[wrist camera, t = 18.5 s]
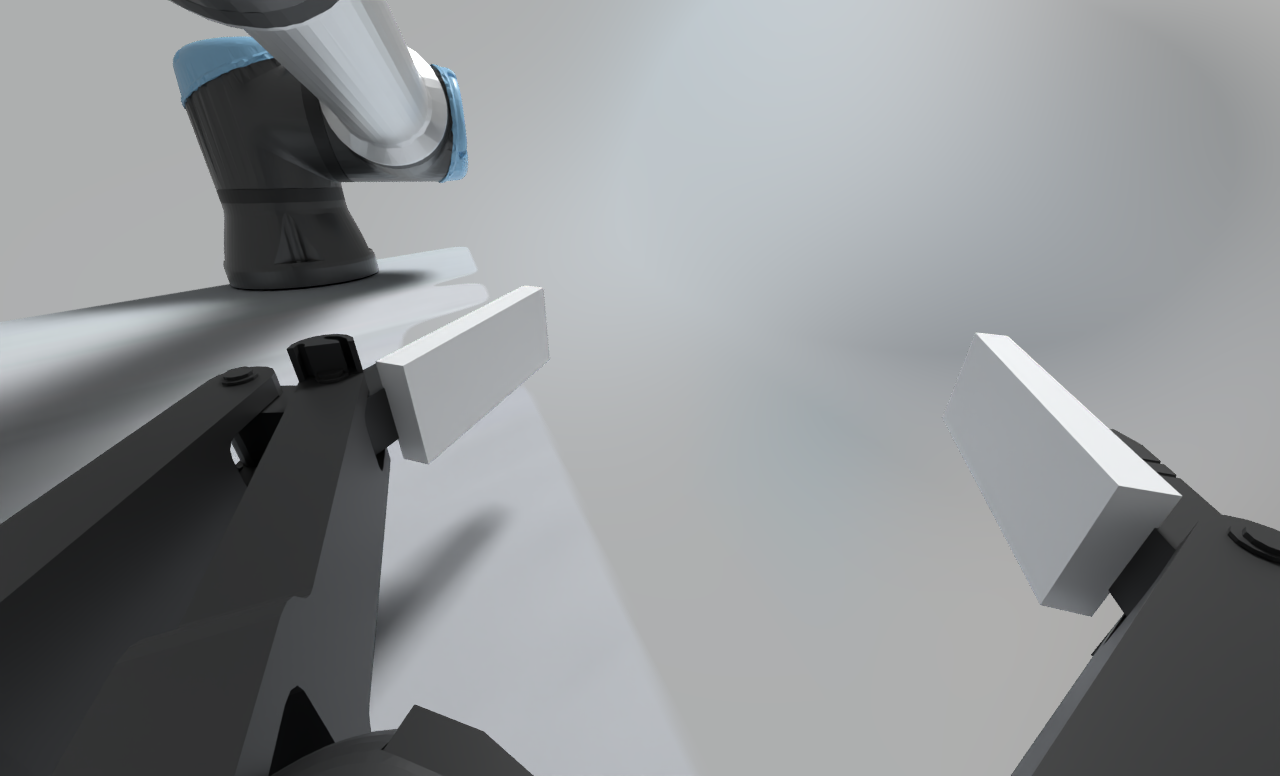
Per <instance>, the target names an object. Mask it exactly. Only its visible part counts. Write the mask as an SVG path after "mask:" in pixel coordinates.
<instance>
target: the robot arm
mask: <svg viewBox="0 0 1280 776" xmlns="http://www.w3.org/2000/svg"><path fill="white" fill-rule="evenodd" d="M169 1H171V2H173V3H175V4H177V5H179V6H181V7H183V8H185V9H187V10H188V11H191V12H193V13H195V14H197V15H199V16H201V17H203V18H205V19H207V20H211V21H214V22H217V23H220V24H223V25H226V26H230V27H235V28H240V29H244V30H245V31H246V32H247V33H248V34H249V35H250V36H251V37H221V38H212V39H206V40H200V41H196V42H193V43H190V44H187V45H185V46H184V47H182V48H181V49H180V50H178V51H177V53H176V54H175V56H174V59H173V67H174V71H175V75H176V78H177V82H178V85H179V89H180V93H181V96H182V97H181V102H182V105H183V107H184V108H185V109H186V111H187V113H188V116H189V118H190V121H191V123H192V126H193V129H194V132H195V134H196V137H197V140H198V143H199V145H200V148H201V150H202V153H203V156H204V158H205V161H206V164H207V166H208V169H209V172H210V174H211V177H212V179H213V182H214V185H215V188H216V189H218V190H217V193H218V196H219V199H220V201H221V204H222V207H223V210H224V217H225V218H224V219H225V220H224V253H225V261H224V269H225V272H226V274H227V277H228V280H229V282H230V285H231V286H233V287H236V288H243V289H282V288H297V287H308V286H317V285H325V284H332V283H338V282H344V281H350V280H354V279H359V278H363V277H366V276H370V275H372V274H375V273H377V272H378V271H379V269H378V265H377V261H376V257H375V254H374V252H373V251H372V249H370V248H368V246H367V244H366V242H365V240H364V238H363V236H362V234H361V232H360V230H359V228H358V226H357V225H356V223H355V221H354V219H353V218H352V216H351V214H350V212H349V211H348V208H347V205H346V202H345V198H344V195H343V191H342V186H341V182H377V181H378V182H380V181H381V182H390V181H392V182H393V181H394V182H395V181H396V182H397V181H438V182H439V183H443V182H446V181H451V180H460V179H462V178H463V177H465V175H466V173H467V169H468V155H467V150H466V149H467V139H466V130H465V121H464V114H463V107H462V101H461V94H460V89H459V85H458V83H457V78H456V75H455V74H454V73H453V72H452V70H450V69H448V68H444V67H439V66H438V65H434V64H431V65H428V64H427V63H426V62H425V61H424V60H423V59H422V58H421V57H420V56H419V55H418V54H417V53H416V52H414V51H413V50H412V49H410V48H408V47H407V45H406V43H405V40H404V38H403V36H402V34H401V32H400V29H399V27H398V25H397V23H396V20H395V18H394V16H393V14H392V11H391V9H390V7H389V5H388V2H387V0H169ZM545 313H546V312H545V301H544V290H543V288H542V287H533V286H522V287H520V288H518V289H516V290H514V291H512V292H510V293H508V294H506V295H504V296H502V297H500V298H498V299H496V300H494V301H492V302H490V303H488V304H487V305H485V306H483V307H481V308H479V309H477V310H475V311H473V312H471V313H469V314H467V315H465V316H463V317H461V318H459V319H457V320H456V321H454V322H451V323H449V324H447V325H445V326H444V327H442V328H440V329H438V330H436V331H434V332H432V333H430V334H428V335H426V336H424V337H422V338H420V339H418V340H416V341H414V342H412V343H410V344H408V345H407V346H404V347H402V348H401V349H399V350H397V351H395V352H393V353H391V354H389V355H387V356H385V357H383V358H381V359H379V360H377V361H376V364H374V365H372V366H370V367H368V368H366V369H364V370H363V369H362V366H361V362H360V359H359V356H358V353H357V350H356V346H355V343H354V340H353V337H351V336H348V335H342V334H330V335H321V336H315V337H311V338H307V339H304V340H301V341H298V342H296V343H294V344H292V345H291V346H289V347H288V348H287V351H288V354H289V357H290V359H291V362H292V364H293V367H294V370H295V372H296V375H297V377H298V380H299V383H298V385H297V386H280V384H279V381H278V379H277V376H276V374H275V372H274V370H273V369H272V368H269V367H239V368H235V369H231V370H228V371H227V372H225V373H224V374H221V375H218V376H216V377H214V378H212V379H210V380H209V381H207V382H206V383H204V384H203V385H201V386H200V387H198V388H197V389H196V390H194V391H193V392H191V393H190V394H188V395H187V396H185V397H184V398H183V399H181V400H180V401H178V402H177V403H175V404H174V405H172V406H171V407H170V408H168V409H167V410H165V411H164V412H162V413H161V414H159V415H158V416H157V417H155V418H154V419H152V420H151V421H149V422H148V423H146V424H145V425H143V426H142V427H141V428H139V429H138V430H136V431H135V432H133V433H132V434H130V435H129V436H128V437H126V438H125V439H123V440H122V441H120V442H119V443H117V444H116V445H115V446H113V447H112V448H110V449H109V450H107V451H106V452H104V453H103V454H102V455H100V456H99V457H97V458H96V459H94V460H93V461H91V462H90V463H89V464H87V465H86V466H84V467H83V468H81V469H80V470H78V471H77V472H76V473H74V474H73V475H71V476H70V477H68V478H67V479H65V480H64V481H63V482H61V483H60V484H58V485H57V486H55V487H54V488H52V489H51V490H50V491H48V492H47V493H45V494H44V495H42V496H41V497H39V498H38V499H37V500H35V501H34V502H32V503H31V504H29V505H28V506H26V507H25V508H24V509H22V510H21V511H19V512H18V513H16V514H15V515H13V516H12V517H10V518H9V519H8V520H6V521H5V522H3V523H2V524H0V776H533V775H532V774H531V773H530V772H529V771H527V770H526V769H525V768H524V767H523V766H522V765H521V764H520V763H518V762H517V761H516V760H515V759H514V758H513V757H512V756H511V755H509V754H508V753H507V752H506V751H505V750H504V749H503V748H502V747H500V746H499V745H498V744H497V743H496V742H495V741H494V740H493V739H491V738H490V737H489V736H488V735H487V734H486V733H485V732H483V731H481V730H478V729H476V728H473V727H471V726H468V725H466V724H463V723H461V722H458V721H456V720H453V719H450V718H448V717H445V716H443V715H440V714H438V713H435V712H433V711H430V710H428V709H425V708H422V707H420V706H417V705H414V706H413V707H412V709H411V710H410V712H409V713H408V715H407V716H406V718H405V719H404V721H403V722H402V724H401V725H400V726H399V728H398V729H393V730H384V731H375V732H371V728H370V719H369V702H370V690H371V679H372V667H373V656H374V644H375V633H376V621H377V610H378V598H379V587H380V575H381V564H382V552H383V541H384V529H385V518H386V506H387V495H388V483H389V472H390V457H389V453H388V450H387V447H388V446H389V445H391V444H392V443H393V442H395V441H396V440H397V439H398V440H399V444H400V447H401V451H402V454H403V458H404V459H408V460H412V461H416V462H421V463H425V464H430V463H431V462H432V461H433V460H434V459H435V458H437V457H438V456H439V455H440V454H441V453H442V452H444V451H445V450H446V449H447V448H448V447H449V446H451V445H452V444H453V443H454V442H455V441H456V440H457V439H459V438H460V437H461V436H462V435H463V434H464V433H466V432H467V431H468V430H469V429H470V428H471V427H473V426H474V425H475V424H476V423H477V422H478V421H479V420H481V419H482V418H483V417H484V416H485V415H486V414H488V413H489V412H490V411H491V410H492V409H493V408H495V407H496V406H497V405H498V404H499V403H500V402H501V401H503V400H504V399H505V398H506V397H507V396H508V395H510V394H511V393H512V392H513V391H514V390H515V389H517V388H518V387H519V386H520V385H521V384H522V383H523V382H525V381H526V380H527V379H528V378H529V377H530V376H531V375H533V374H534V373H535V372H536V371H537V370H539V369H540V368H541V367H542V366H543V365H544V364H545V363H547V362H548V361H549V360H550V357H549V347H548V335H547V323H546V314H545ZM942 418H943V420H944V422H945V424H946V426H947V428H948V430H949V431H950V434H951V436H952V437H953V439H954V441H955V443H956V445H957V447H958V449H959V451H960V453H961V455H962V457H963V458H964V460H965V462H966V464H967V466H968V468H969V470H970V472H971V474H972V476H973V478H974V479H975V481H976V483H977V485H978V487H979V489H980V491H981V493H982V495H983V496H984V499H985V500H986V502H987V504H988V506H989V508H990V510H991V512H992V514H993V516H994V517H995V520H996V521H997V523H998V525H999V527H1000V529H1001V531H1002V533H1003V535H1004V537H1005V539H1006V540H1007V542H1008V544H1009V546H1010V548H1011V550H1012V552H1013V554H1014V556H1015V558H1016V560H1017V561H1018V563H1019V565H1020V567H1021V569H1022V571H1023V573H1024V575H1025V577H1026V579H1027V580H1028V582H1029V584H1030V586H1031V588H1032V590H1033V592H1034V594H1035V596H1036V598H1037V600H1038V602H1039V603H1040V605H1043V606H1048V607H1052V608H1056V609H1060V610H1065V611H1069V612H1074V613H1078V614H1082V615H1087V616H1091V617H1092V616H1093V614H1094V613H1095V611H1096V610H1097V609H1098V608H1099V606H1100V605H1101V604H1102V602H1103V601H1104V600H1105V598H1106V597H1107V596H1108V594H1109V593H1111V595H1112V596H1113V598H1114V599H1115V600H1116V602H1117V603H1118V605H1119V606H1120V608H1121V609H1122V611H1123V612H1124V614H1123V616H1122V617H1121V618H1120V620H1119V621H1118V622H1117V623H1116V624H1115V626H1114V627H1113V628H1112V629H1111V631H1110V632H1109V633H1108V634H1107V636H1106V637H1105V638H1104V639H1103V641H1102V642H1101V643H1100V644H1099V646H1098V647H1097V648H1096V649H1095V651H1094V652H1093V653H1092V654H1091V655H1092V656H1093V657H1092V659H1091V660H1090V662H1089V663H1088V664H1087V666H1086V667H1085V669H1084V670H1083V672H1082V673H1081V675H1080V676H1079V678H1078V679H1077V680H1076V682H1075V683H1074V685H1073V686H1072V688H1071V689H1070V691H1069V692H1068V694H1067V695H1066V696H1065V698H1064V699H1063V701H1062V702H1061V704H1060V705H1059V707H1058V708H1057V709H1056V711H1055V712H1054V714H1053V715H1052V717H1051V718H1050V720H1049V721H1048V722H1047V724H1046V725H1045V727H1044V728H1043V730H1042V731H1041V733H1040V734H1039V735H1038V737H1037V738H1036V740H1035V741H1034V743H1033V744H1032V746H1031V747H1030V749H1029V750H1028V752H1027V753H1026V754H1025V756H1024V757H1023V759H1022V760H1021V762H1020V763H1019V765H1018V766H1017V767H1016V769H1015V770H1014V772H1013V773H1012V775H1011V776H1280V531H1277V530H1275V529H1272V528H1270V527H1267V526H1264V525H1261V524H1258V523H1255V522H1252V521H1249V520H1245V519H1241V518H1236V517H1231V516H1227V515H1221V514H1220V513H1219V512H1218V511H1217V510H1216V509H1215V508H1213V507H1212V506H1211V505H1210V504H1209V503H1208V502H1207V501H1205V500H1204V499H1203V498H1202V497H1201V496H1200V495H1199V494H1197V493H1196V492H1195V491H1194V490H1193V489H1192V488H1191V487H1189V486H1188V485H1187V484H1186V483H1185V482H1184V481H1183V480H1181V479H1180V478H1176V474H1175V473H1173V472H1172V471H1171V470H1170V469H1169V468H1168V467H1166V466H1165V465H1164V464H1160V462H1161V461H1160V460H1159V459H1158V458H1156V457H1155V456H1154V455H1153V454H1152V453H1151V452H1149V451H1148V450H1147V449H1146V448H1145V447H1144V446H1143V445H1141V444H1139V443H1137V442H1136V441H1134V440H1132V439H1130V438H1129V437H1127V436H1125V435H1123V434H1121V433H1120V432H1118V431H1116V430H1113V429H1109V428H1107V427H1106V426H1105V425H1104V424H1103V423H1102V422H1101V421H1100V420H1099V419H1097V417H1095V416H1094V415H1093V414H1092V413H1091V412H1090V411H1089V410H1088V409H1087V408H1086V407H1085V406H1083V405H1082V404H1081V403H1080V402H1079V401H1078V400H1077V399H1076V398H1075V397H1074V396H1073V395H1071V394H1070V393H1069V392H1068V391H1067V390H1066V389H1065V388H1064V387H1063V386H1062V385H1061V384H1059V383H1058V382H1057V381H1056V380H1055V379H1054V378H1053V377H1052V376H1051V375H1050V374H1048V373H1047V372H1046V371H1045V370H1044V369H1043V368H1042V367H1041V366H1040V365H1039V364H1037V362H1035V361H1034V360H1033V359H1032V358H1031V357H1030V356H1029V355H1028V354H1027V353H1026V352H1025V351H1023V350H1022V349H1021V348H1020V347H1019V346H1018V345H1017V344H1016V343H1015V342H1014V341H1013V340H1011V339H1010V338H1009V337H1008V336H1003V335H993V334H984V333H975V335H974V337H973V340H972V342H971V345H970V348H969V350H968V353H967V355H966V358H965V361H964V363H963V366H962V368H961V371H960V373H959V376H958V379H957V381H956V384H955V386H954V389H953V392H952V394H951V397H950V399H949V402H948V405H947V407H946V410H945V412H944V415H943V417H942ZM231 443H232V445H233V447H234V449H235V451H236V453H237V455H238V457H239V459H240V461H239V462H238V463H237V464H236V465H235V463H234V461H233V459H232V456H231V452H230V447H231Z"/></svg>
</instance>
